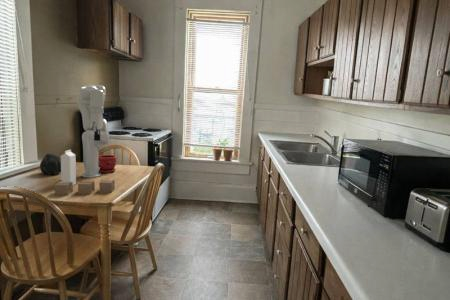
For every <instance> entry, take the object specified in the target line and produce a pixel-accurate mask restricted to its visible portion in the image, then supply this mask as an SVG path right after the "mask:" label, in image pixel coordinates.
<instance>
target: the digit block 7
mask: <svg viewBox="0 0 450 300" xmlns="http://www.w3.org/2000/svg"><path fill="white" fill-rule="evenodd" d="M98 183H99V184H98V185H99V188H98V190H99V193H113V192H114V190H115V187H116V186H115V185H116V183H115V179H102V180H100V182H98Z"/></svg>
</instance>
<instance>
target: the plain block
mask: <svg viewBox="0 0 450 300" xmlns="http://www.w3.org/2000/svg"><path fill="white" fill-rule="evenodd" d="M95 184H96V183H95V180H81V181H80V182H78V183H77V190H78V191H77V195H78V194H79V195H91V194H93V193H94V192H95V190H96V188H95V187H96V185H95Z"/></svg>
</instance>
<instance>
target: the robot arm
mask: <svg viewBox="0 0 450 300" xmlns="http://www.w3.org/2000/svg"><path fill="white" fill-rule="evenodd" d="M106 95H107V91H106V87H105V86H104V85H102V84H101V85H100V84H90V83H88V84H85V85H84V86H81V87H80V88H79V90H78V96H77V99H76V102H77V106H78V107H77V108H78V110H79V112H80V113H81V117H82V119H81V120H82V126H83V127H82V128H83V129H84V132H82V135H81V140H82V147H83V172H82V173H81V177H83V178H97V177H100V176H101V175H102V172H100V171H99V169H100V168H99V156H100V154H99V149H98V147H96V146H97V145H100V146H101V145H107V144H109V142H110V132H109V124H108V121H107V120H106V119H105V118H104V116H103V114H104V113H105V111H104V110H105V109H104V108H105V107H104V105H105V100H106Z"/></svg>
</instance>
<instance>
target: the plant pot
mask: <svg viewBox="0 0 450 300" xmlns="http://www.w3.org/2000/svg"><path fill="white" fill-rule="evenodd" d="M116 164H117V156H116V155H114V154H113V155H111V154H106V155H105V154H104V155H99V173H101V174H109V173H114V172H116Z"/></svg>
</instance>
